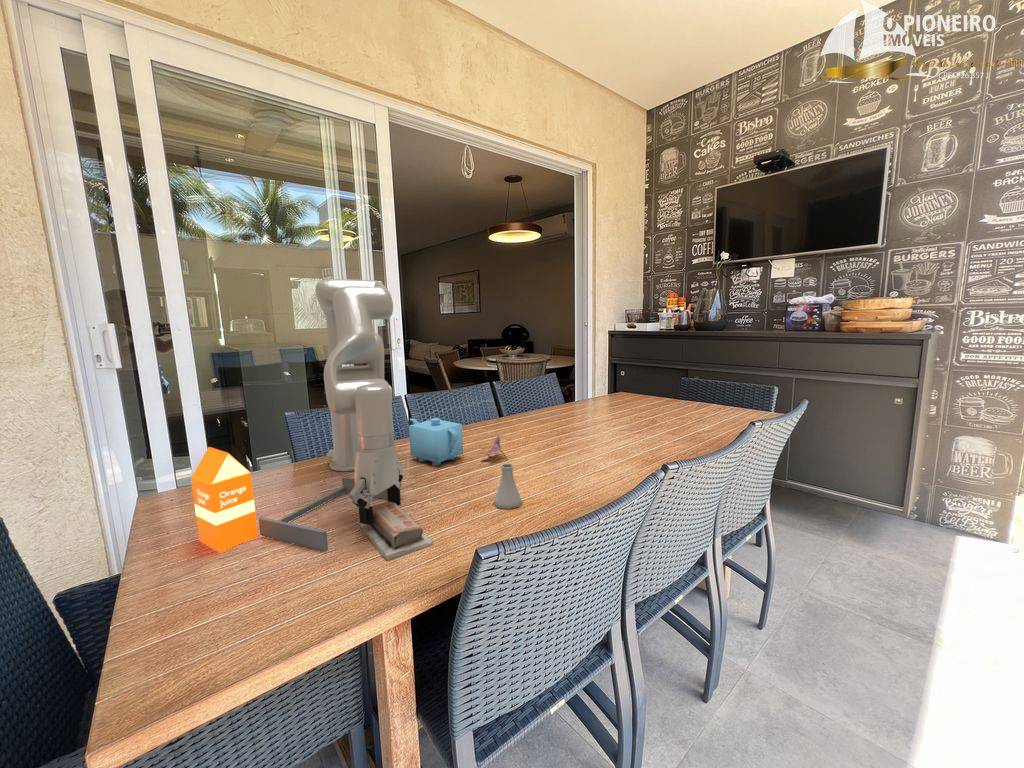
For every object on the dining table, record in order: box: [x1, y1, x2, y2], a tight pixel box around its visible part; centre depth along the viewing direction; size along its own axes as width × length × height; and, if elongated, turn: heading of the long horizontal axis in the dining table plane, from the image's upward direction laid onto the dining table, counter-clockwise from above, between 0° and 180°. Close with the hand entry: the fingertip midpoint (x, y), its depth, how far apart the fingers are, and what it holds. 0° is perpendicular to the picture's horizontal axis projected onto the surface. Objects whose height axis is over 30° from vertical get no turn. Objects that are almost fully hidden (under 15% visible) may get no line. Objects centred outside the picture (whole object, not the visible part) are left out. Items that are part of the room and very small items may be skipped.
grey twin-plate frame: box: [258, 476, 402, 552], centre depth 100 cm, size 18×26×4 cm
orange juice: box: [190, 446, 259, 553], centre depth 89 cm, size 8×9×20 cm
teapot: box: [408, 417, 464, 467], centre depth 140 cm, size 22×11×14 cm, turn 53°
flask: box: [493, 462, 523, 510], centre depth 106 cm, size 7×7×10 cm
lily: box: [480, 432, 509, 462], centre depth 139 cm, size 12×12×10 cm
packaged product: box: [359, 501, 434, 561], centre depth 92 cm, size 18×5×10 cm
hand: (381, 513), depth 96 cm, fingers open, 9 cm apart
